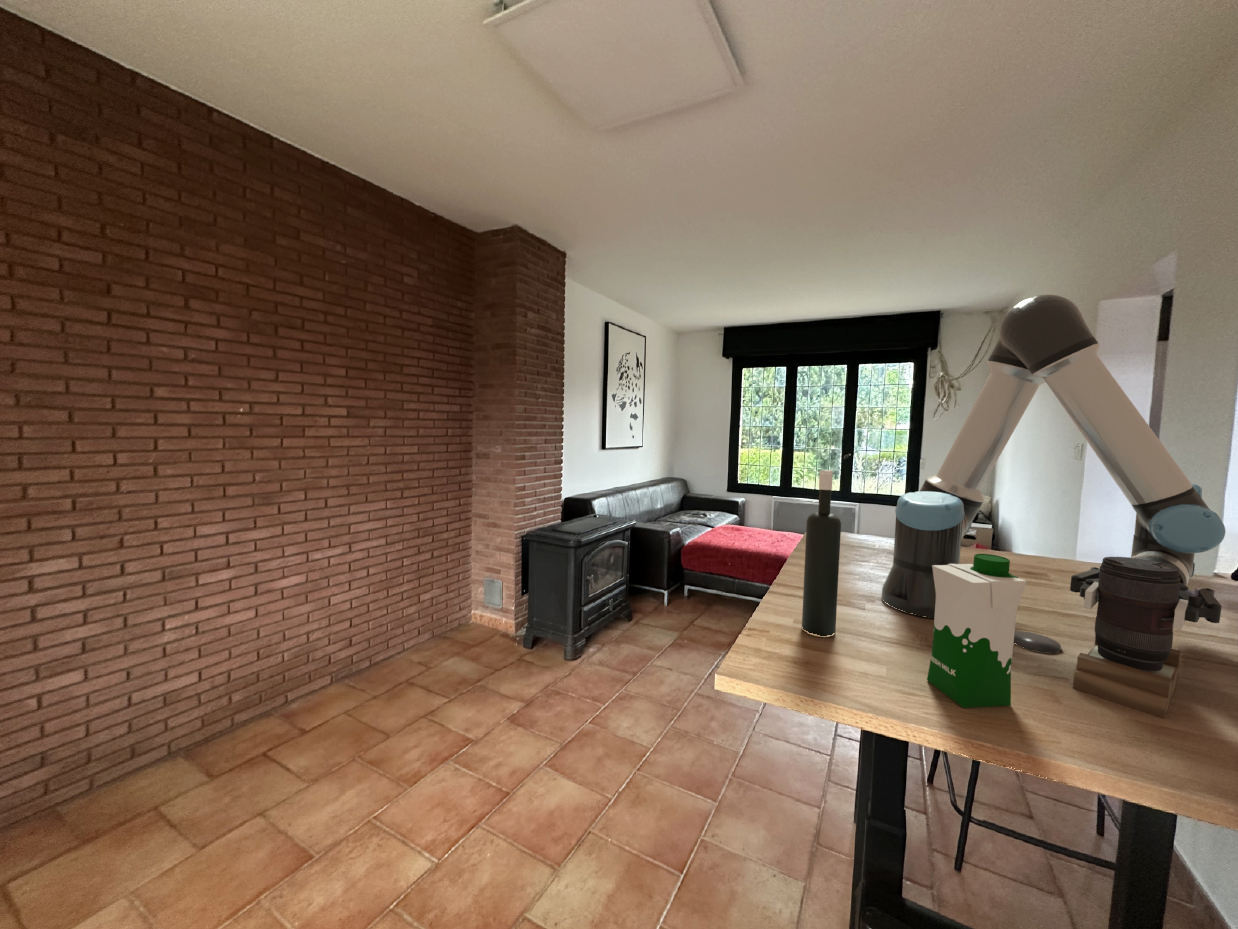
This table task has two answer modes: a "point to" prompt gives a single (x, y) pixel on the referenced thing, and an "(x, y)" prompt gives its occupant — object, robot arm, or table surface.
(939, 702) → the table surface
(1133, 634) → the camera lens
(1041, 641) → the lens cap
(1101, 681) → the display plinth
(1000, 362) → the robot arm
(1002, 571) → the milk carton
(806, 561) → the wine bottle
